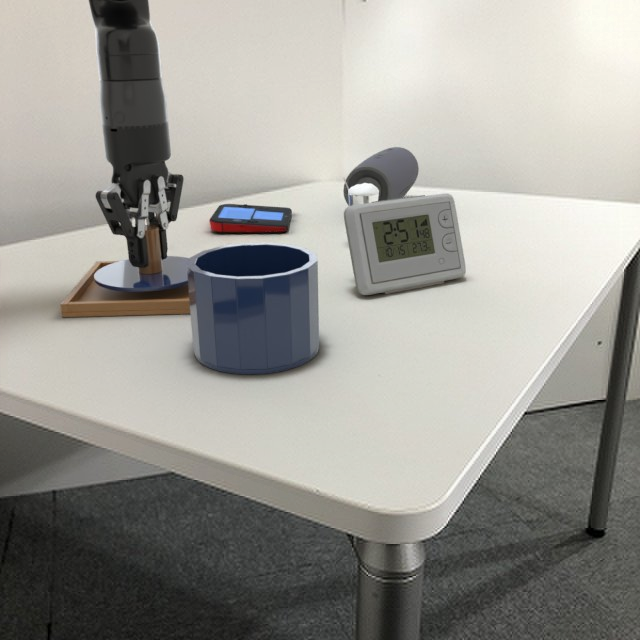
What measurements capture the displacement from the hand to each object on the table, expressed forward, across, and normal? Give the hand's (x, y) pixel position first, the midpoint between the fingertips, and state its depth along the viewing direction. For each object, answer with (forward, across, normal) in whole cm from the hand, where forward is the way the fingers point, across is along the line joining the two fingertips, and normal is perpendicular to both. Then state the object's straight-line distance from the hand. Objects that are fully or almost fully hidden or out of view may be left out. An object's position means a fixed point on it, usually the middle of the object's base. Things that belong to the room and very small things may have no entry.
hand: (149, 262), depth 96 cm
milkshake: (+4, -31, +14) cm, 35 cm away
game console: (+4, -36, -8) cm, 37 cm away
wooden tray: (+4, 0, 0) cm, 4 cm away
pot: (+4, +10, +22) cm, 25 cm away
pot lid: (+2, 0, 0) cm, 2 cm away
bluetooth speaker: (+4, -55, +7) cm, 56 cm away
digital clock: (+4, -16, +28) cm, 32 cm away
